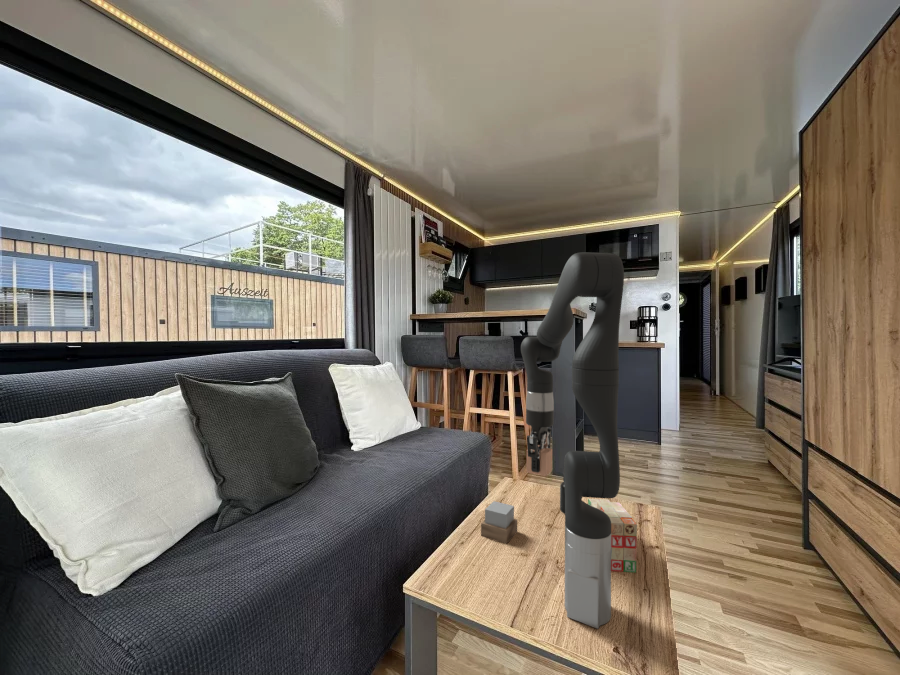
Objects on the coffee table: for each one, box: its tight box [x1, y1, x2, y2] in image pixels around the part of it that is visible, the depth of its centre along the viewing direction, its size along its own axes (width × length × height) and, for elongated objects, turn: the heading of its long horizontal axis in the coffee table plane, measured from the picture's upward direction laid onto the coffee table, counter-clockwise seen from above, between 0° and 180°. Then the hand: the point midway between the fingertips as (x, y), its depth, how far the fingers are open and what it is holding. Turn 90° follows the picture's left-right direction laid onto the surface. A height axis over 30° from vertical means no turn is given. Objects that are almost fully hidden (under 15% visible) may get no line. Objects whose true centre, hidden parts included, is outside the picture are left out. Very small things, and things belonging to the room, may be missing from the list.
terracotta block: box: [525, 448, 553, 477], centre depth 105 cm, size 6×6×6 cm
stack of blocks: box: [587, 498, 638, 573], centre depth 103 cm, size 21×6×12 cm, turn 174°
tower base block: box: [480, 518, 518, 545], centre depth 110 cm, size 8×8×4 cm
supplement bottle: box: [559, 474, 565, 515], centre depth 125 cm, size 7×7×12 cm
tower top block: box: [484, 500, 515, 529], centre depth 111 cm, size 6×6×4 cm
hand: (539, 468), depth 105 cm, fingers closed on terracotta block, 5 cm apart
